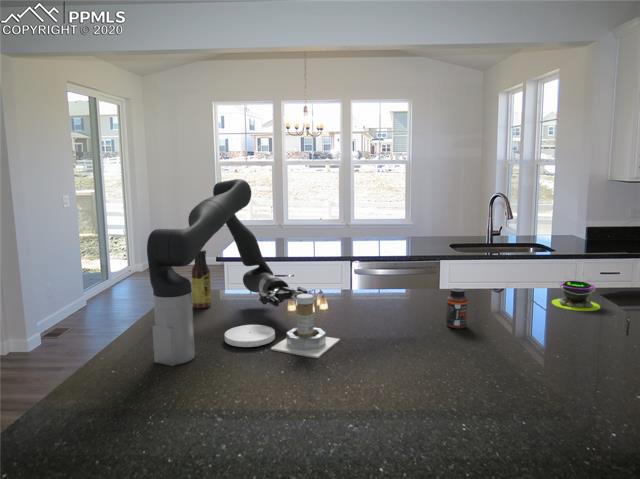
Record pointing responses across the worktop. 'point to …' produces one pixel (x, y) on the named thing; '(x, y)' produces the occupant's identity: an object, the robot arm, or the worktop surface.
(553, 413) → the worktop surface
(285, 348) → the base plate
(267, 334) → the plastic lid
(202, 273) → the sauce bottle
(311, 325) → the sprinkles bottle
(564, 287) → the toy cauldron
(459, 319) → the supplement bottle
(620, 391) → the worktop surface
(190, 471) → the worktop surface
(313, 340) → the ring
